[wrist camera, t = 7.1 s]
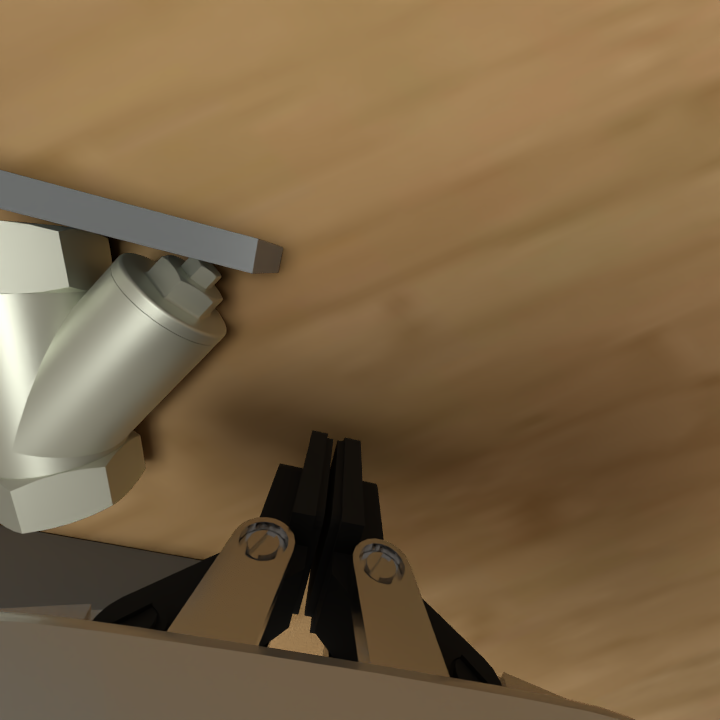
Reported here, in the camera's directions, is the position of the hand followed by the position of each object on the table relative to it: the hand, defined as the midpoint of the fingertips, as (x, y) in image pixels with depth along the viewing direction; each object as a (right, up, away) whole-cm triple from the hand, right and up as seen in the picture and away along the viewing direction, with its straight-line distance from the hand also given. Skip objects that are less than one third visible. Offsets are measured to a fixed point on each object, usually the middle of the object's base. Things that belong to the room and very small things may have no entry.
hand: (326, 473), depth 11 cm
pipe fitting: (-6, +4, +1) cm, 8 cm away
